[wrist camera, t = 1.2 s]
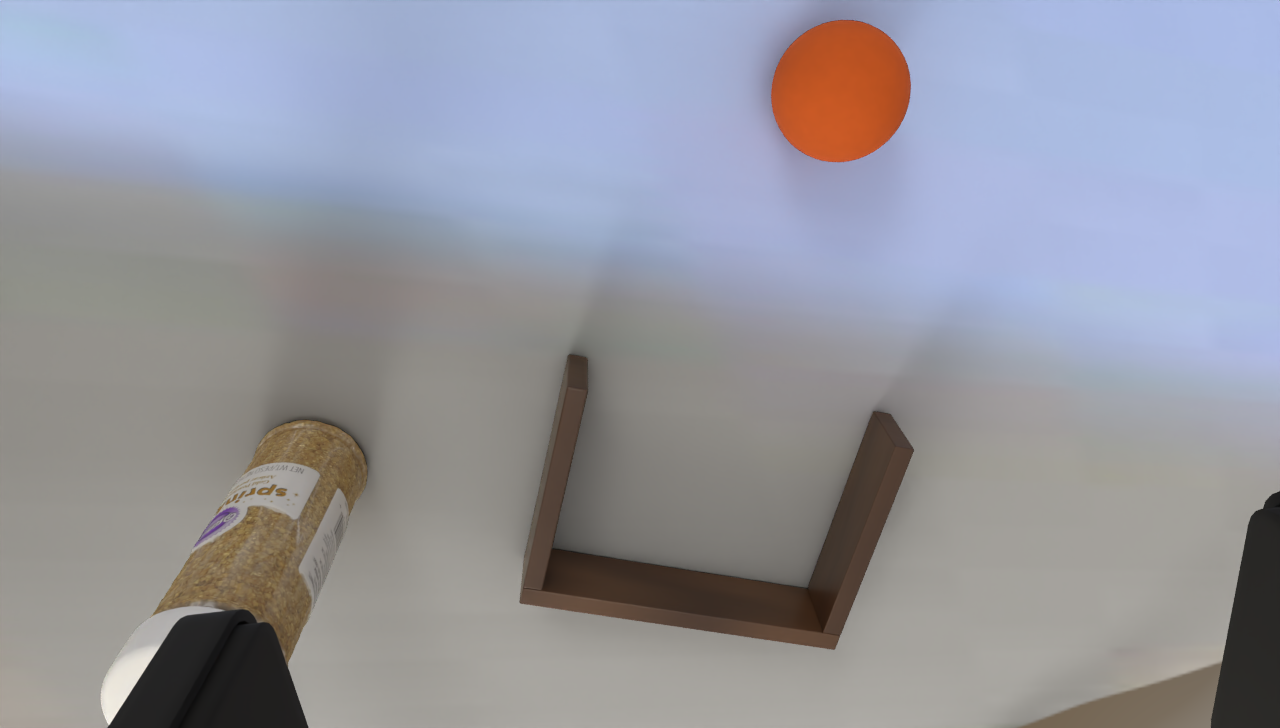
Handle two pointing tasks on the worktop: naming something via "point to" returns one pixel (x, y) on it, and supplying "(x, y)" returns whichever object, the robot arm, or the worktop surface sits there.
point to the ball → (840, 91)
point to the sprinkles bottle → (260, 546)
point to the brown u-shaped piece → (707, 595)
